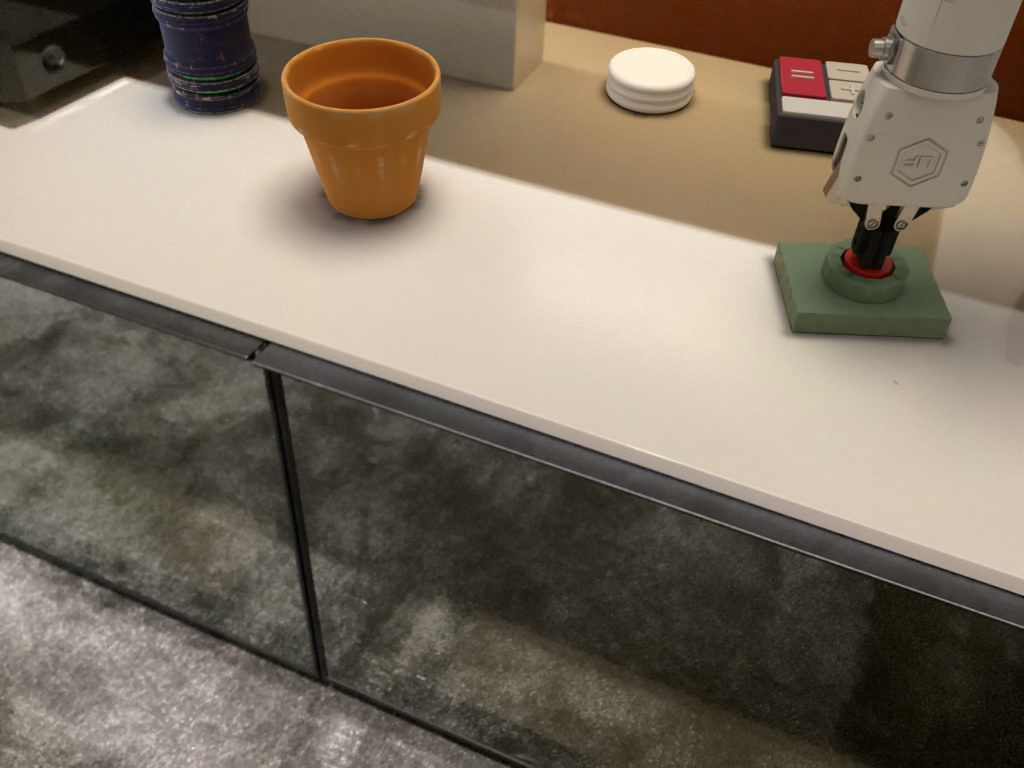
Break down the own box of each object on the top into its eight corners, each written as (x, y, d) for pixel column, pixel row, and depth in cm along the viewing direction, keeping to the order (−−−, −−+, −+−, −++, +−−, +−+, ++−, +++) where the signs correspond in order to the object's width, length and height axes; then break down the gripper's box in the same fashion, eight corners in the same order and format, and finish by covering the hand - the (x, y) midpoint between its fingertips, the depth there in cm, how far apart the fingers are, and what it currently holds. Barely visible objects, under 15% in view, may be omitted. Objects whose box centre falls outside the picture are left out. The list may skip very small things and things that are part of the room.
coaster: (696, 117, 108) (702, 88, 106) (608, 114, 108) (611, 85, 106) (686, 74, 115) (690, 46, 113) (603, 72, 115) (606, 44, 113)
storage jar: (252, 66, 114) (230, -65, 103) (272, 105, 107) (251, -31, 97) (166, 80, 111) (133, -54, 100) (181, 121, 104) (149, -17, 94)
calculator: (871, 61, 111) (886, 120, 100) (861, 97, 114) (874, 157, 103) (775, 51, 112) (779, 108, 101) (767, 86, 115) (770, 145, 104)
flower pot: (269, 199, 94) (246, 75, 85) (369, 141, 102) (359, 22, 93) (375, 255, 88) (363, 128, 79) (472, 189, 97) (472, 67, 87)
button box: (912, 266, 90) (927, 231, 87) (943, 338, 82) (960, 302, 80) (773, 260, 90) (783, 225, 87) (792, 331, 83) (803, 295, 80)
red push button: (880, 262, 86) (886, 246, 84) (891, 291, 83) (897, 275, 82) (835, 260, 86) (840, 244, 84) (845, 289, 83) (850, 273, 82)
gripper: (848, 77, 67) (787, 283, 80) (1062, 87, 67) (966, 291, 80) (827, 30, 73) (773, 230, 86) (1024, 39, 73) (941, 237, 86)
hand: (867, 259), depth 83 cm, fingers closed
